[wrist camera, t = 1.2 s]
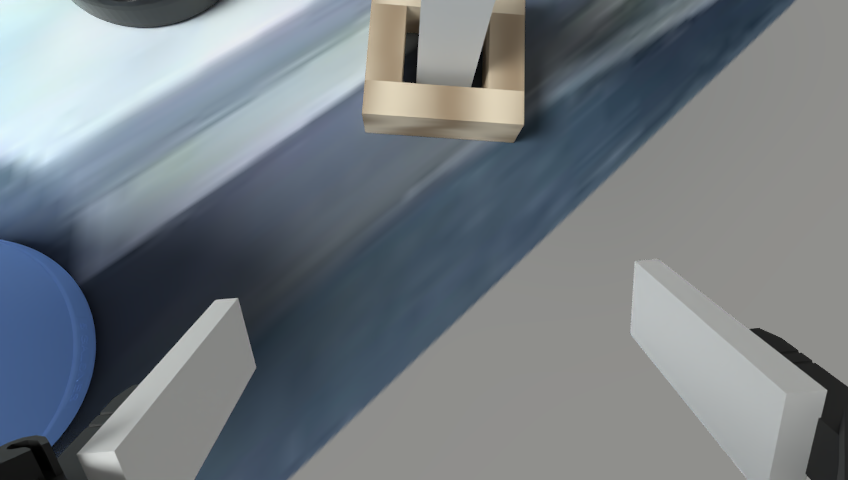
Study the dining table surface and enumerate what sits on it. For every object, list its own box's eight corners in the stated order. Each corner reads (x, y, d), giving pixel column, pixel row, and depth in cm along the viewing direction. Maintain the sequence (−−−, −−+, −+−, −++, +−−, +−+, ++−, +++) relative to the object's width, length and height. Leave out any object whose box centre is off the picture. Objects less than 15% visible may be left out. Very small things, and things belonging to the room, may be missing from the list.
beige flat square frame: (365, 132, 34) (361, 113, 31) (376, 1, 36) (374, -28, 33) (513, 142, 34) (523, 124, 32) (515, 12, 37) (525, -16, 34)
